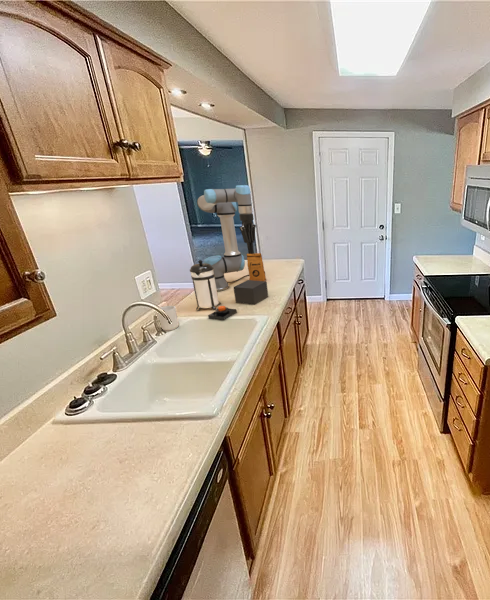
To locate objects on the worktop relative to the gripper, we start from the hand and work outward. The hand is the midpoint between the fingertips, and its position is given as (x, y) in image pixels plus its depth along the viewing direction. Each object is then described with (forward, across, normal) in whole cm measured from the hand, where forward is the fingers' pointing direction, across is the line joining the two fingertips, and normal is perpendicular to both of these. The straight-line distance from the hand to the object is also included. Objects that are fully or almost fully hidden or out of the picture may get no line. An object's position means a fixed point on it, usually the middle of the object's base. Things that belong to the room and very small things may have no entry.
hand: (251, 253), depth 198 cm
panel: (+32, -23, +8) cm, 40 cm away
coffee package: (+33, +43, +28) cm, 61 cm away
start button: (+29, -23, +8) cm, 37 cm away
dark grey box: (+32, +5, +8) cm, 34 cm away
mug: (+33, -43, +25) cm, 59 cm away
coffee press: (+33, -13, +26) cm, 44 cm away
